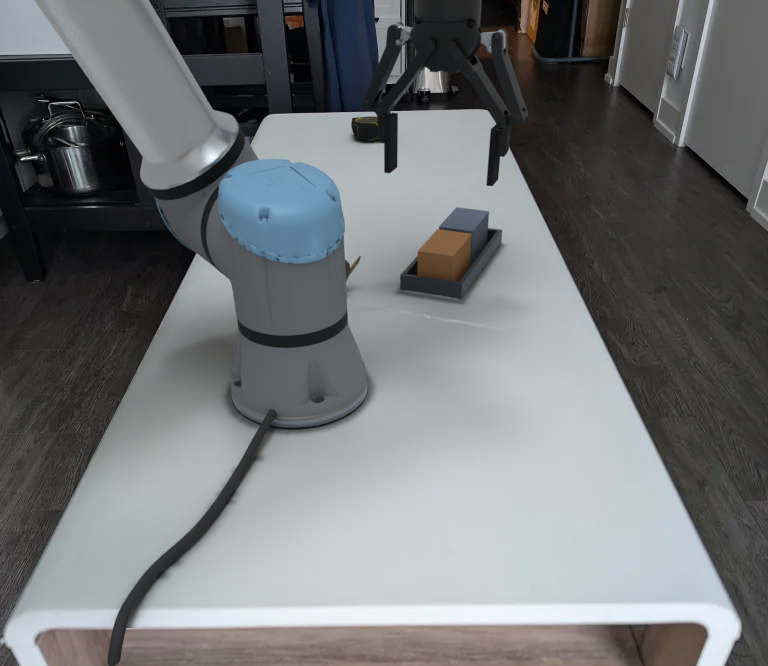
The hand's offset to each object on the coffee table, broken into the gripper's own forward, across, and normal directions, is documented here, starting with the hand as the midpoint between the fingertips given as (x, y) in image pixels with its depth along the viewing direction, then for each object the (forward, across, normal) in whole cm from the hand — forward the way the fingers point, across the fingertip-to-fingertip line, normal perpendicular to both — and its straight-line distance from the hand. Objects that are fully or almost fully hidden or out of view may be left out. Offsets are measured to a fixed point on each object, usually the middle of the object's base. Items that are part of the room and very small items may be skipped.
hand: (440, 176), depth 101 cm
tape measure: (+14, +35, -59) cm, 70 cm away
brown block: (+14, -1, -1) cm, 14 cm away
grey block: (+14, -1, -10) cm, 17 cm away
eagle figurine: (+15, +14, +6) cm, 22 cm away
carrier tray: (+14, -1, -6) cm, 15 cm away
